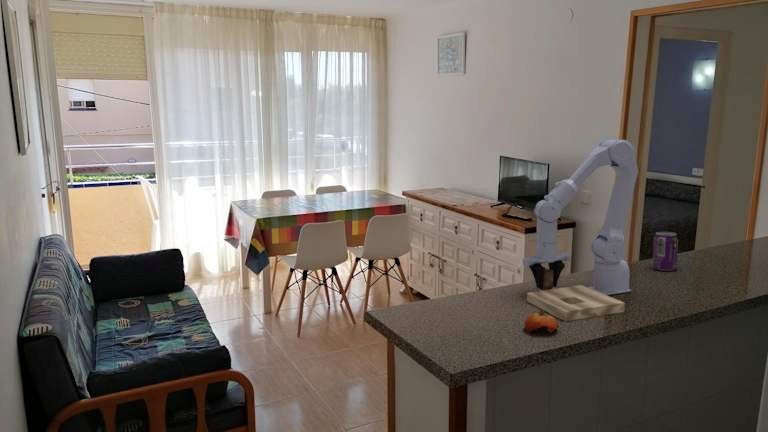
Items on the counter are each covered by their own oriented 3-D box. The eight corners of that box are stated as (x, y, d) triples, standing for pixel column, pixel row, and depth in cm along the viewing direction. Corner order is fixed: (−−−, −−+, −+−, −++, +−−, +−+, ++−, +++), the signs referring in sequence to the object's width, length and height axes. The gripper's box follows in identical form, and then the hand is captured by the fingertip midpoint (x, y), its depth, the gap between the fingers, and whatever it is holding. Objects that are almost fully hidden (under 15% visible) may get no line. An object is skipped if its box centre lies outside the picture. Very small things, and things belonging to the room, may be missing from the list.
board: (581, 293, 167) (581, 285, 167) (624, 311, 150) (624, 302, 150) (526, 301, 162) (526, 292, 161) (565, 321, 145) (565, 311, 144)
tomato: (569, 326, 137) (551, 307, 135) (554, 349, 135) (535, 330, 133) (546, 321, 145) (529, 303, 142) (532, 343, 143) (514, 325, 140)
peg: (548, 291, 171) (548, 268, 169) (556, 294, 167) (556, 271, 166) (536, 292, 169) (537, 269, 168) (544, 296, 166) (544, 272, 165)
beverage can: (680, 271, 186) (682, 235, 184) (658, 272, 186) (660, 236, 184) (670, 266, 193) (671, 231, 191) (648, 266, 193) (650, 231, 191)
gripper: (560, 236, 172) (559, 280, 174) (517, 241, 167) (517, 286, 169) (574, 241, 165) (574, 286, 167) (530, 246, 161) (530, 293, 163)
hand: (546, 287), depth 168 cm, fingers open, 4 cm apart
